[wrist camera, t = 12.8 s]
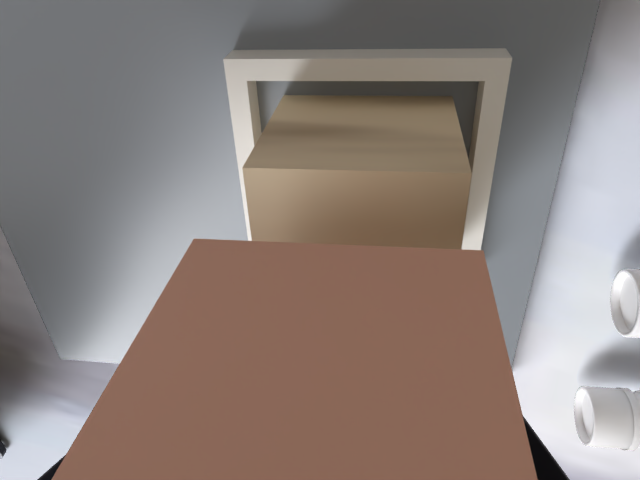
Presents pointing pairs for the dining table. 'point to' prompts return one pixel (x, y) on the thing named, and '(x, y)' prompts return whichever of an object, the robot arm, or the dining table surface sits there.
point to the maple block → (360, 172)
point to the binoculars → (614, 403)
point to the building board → (253, 131)
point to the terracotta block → (312, 372)
